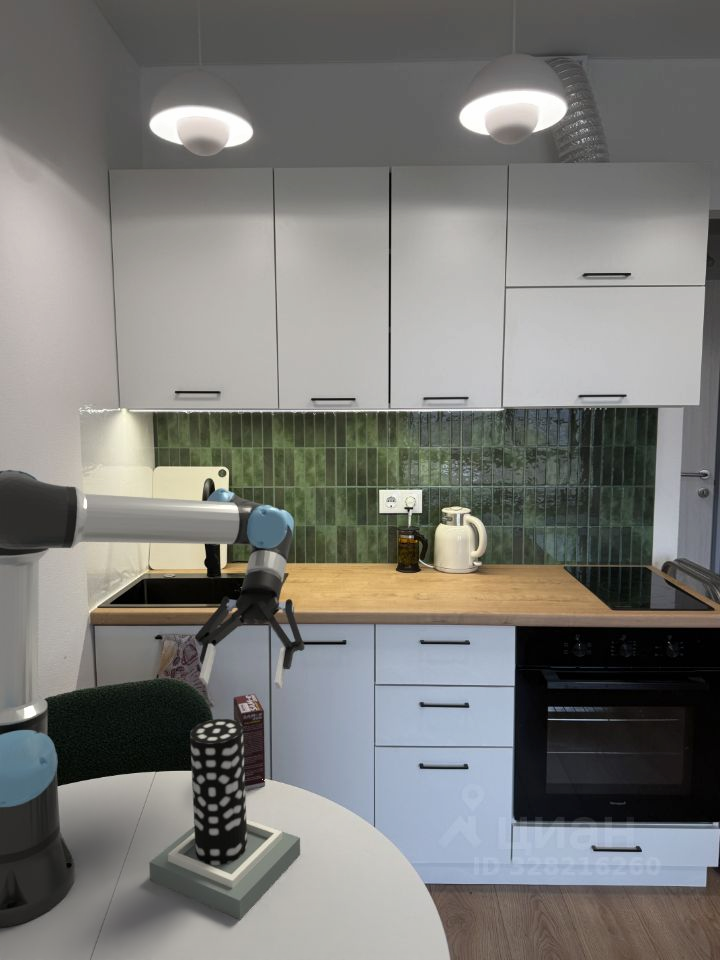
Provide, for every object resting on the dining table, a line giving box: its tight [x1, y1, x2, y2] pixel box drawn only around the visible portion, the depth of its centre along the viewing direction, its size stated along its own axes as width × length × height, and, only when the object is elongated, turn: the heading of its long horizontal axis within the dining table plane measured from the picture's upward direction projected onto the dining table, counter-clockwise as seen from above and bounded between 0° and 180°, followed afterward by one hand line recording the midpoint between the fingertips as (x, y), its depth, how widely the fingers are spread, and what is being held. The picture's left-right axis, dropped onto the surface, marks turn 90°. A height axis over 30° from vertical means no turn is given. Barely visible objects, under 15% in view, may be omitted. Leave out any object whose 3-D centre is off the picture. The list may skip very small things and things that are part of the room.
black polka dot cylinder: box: [189, 718, 247, 865], centre depth 105 cm, size 8×8×20 cm
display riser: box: [149, 818, 301, 920], centre depth 106 cm, size 18×16×4 cm
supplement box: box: [233, 693, 266, 791], centre depth 132 cm, size 9×5×16 cm, turn 22°
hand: (240, 683), depth 114 cm, fingers open, 13 cm apart
